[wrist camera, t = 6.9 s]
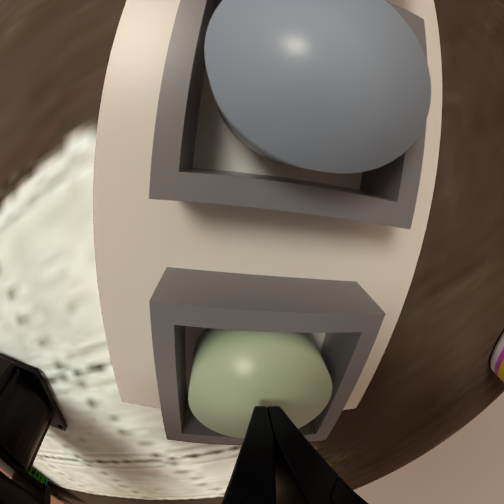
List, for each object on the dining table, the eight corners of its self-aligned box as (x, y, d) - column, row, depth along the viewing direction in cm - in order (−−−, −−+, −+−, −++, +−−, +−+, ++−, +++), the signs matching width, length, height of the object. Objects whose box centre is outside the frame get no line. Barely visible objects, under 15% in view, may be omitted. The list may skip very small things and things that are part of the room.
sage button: (300, 397, 12) (311, 435, 10) (194, 394, 11) (190, 435, 9) (328, 310, 10) (351, 348, 8) (194, 303, 10) (186, 344, 7)
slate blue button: (373, 181, 8) (421, 193, 5) (200, 156, 7) (186, 155, 5) (384, 38, 6) (426, 13, 4) (225, 1, 5) (226, -45, 3)
